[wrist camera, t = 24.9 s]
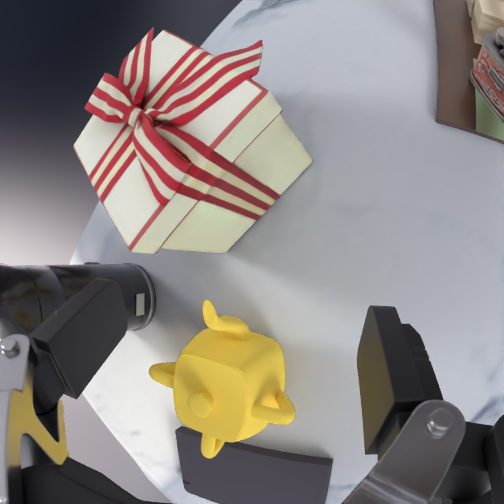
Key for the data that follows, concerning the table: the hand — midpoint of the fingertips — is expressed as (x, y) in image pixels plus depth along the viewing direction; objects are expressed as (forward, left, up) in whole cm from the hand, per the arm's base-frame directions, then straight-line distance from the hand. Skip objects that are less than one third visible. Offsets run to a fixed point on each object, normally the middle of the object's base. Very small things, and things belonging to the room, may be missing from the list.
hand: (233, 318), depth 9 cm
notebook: (-2, -30, -23) cm, 37 cm away
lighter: (+14, +23, -22) cm, 35 cm away
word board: (+13, +29, -23) cm, 39 cm away
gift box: (-15, +10, -23) cm, 29 cm away
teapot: (-7, -13, -23) cm, 27 cm away
